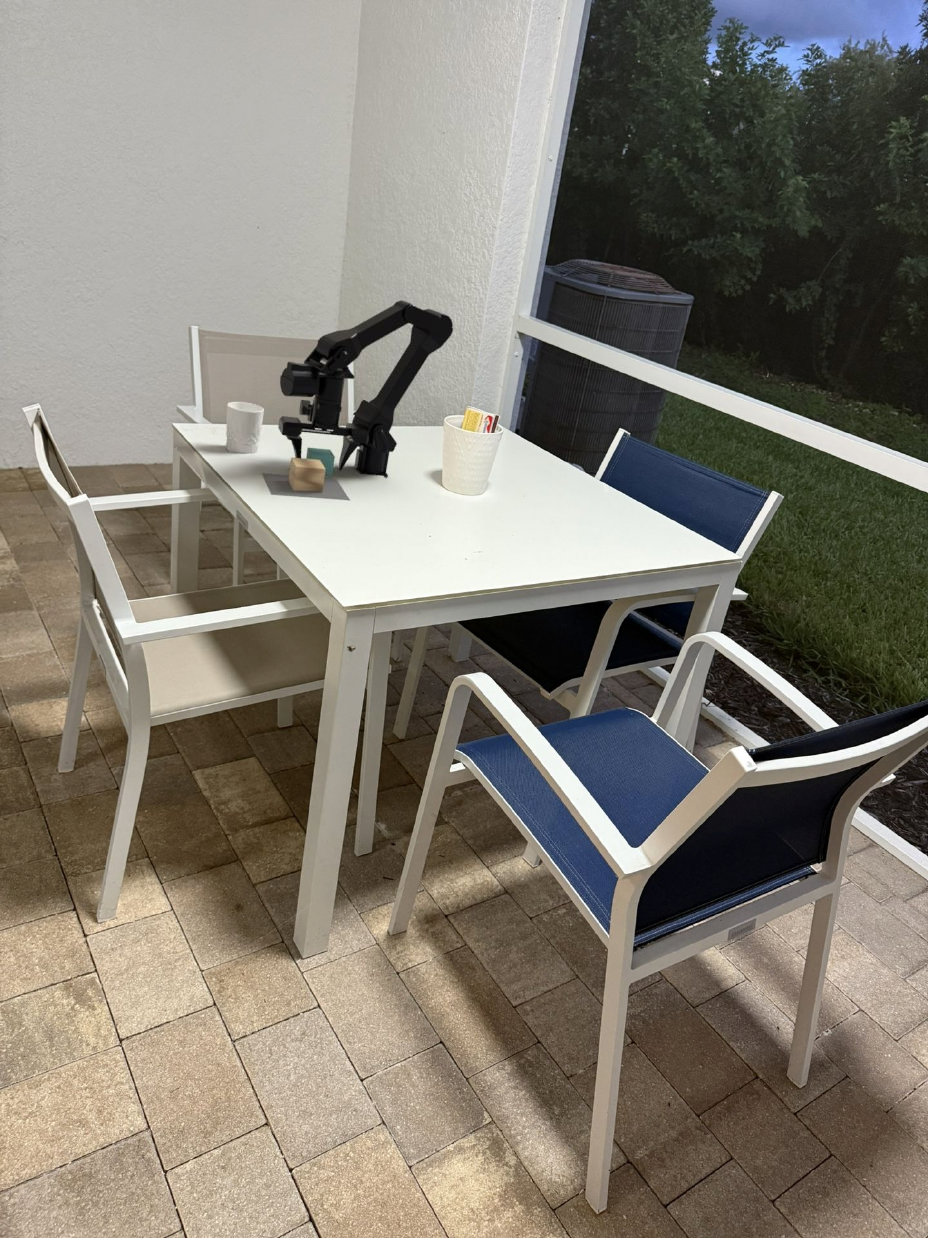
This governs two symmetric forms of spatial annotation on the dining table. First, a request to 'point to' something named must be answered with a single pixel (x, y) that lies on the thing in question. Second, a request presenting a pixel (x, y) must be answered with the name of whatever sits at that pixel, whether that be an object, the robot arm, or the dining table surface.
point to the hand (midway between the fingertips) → (319, 468)
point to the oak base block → (306, 475)
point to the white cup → (243, 427)
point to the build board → (283, 487)
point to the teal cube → (322, 458)
